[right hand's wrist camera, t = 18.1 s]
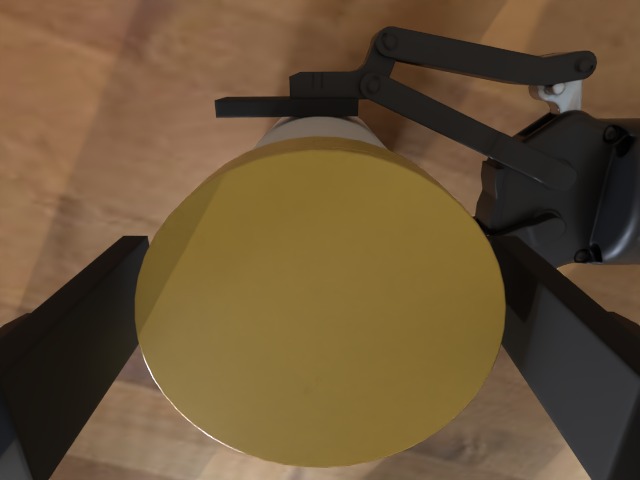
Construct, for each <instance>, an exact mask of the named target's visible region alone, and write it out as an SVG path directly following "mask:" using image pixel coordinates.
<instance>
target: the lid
mask: <svg viewBox="0 0 640 480" xmlns="http://www.w3.org/2000/svg"><path fill="white" fill-rule="evenodd" d="M505 314H506V301H505V290H504V283H503V279H502V275H501V271H500V267H499V263H498V261H497V259H496V256H495V254H494V252H493V249H492V247H491V245H490V243H489V241H488V239H487V238H486V236H485V235H484V233H483V231H482V230H481V228H480V227H479V225H478V223H477V222H476V221H475V220H474V219H473V218H472V216H471V215H470V214H469V213H468V212H467V211H466V209H465V208H464V207H463V206H462V205H461V204H460V203H459V202H458V201H457V200H456V199H455V198H454V197H453V196H452V195H451V194H450V193H449V192H448V191H446V190H445V189H444V188H443V187H442V186H441V185H440V184H439V183H438V182H437V181H436V180H434V179H433V178H432V177H431V176H430V175H429V174H427V173H426V172H425V171H424V170H423V169H421V168H420V167H418V166H417V165H415V164H414V163H412V162H411V161H409V160H407V159H406V158H404V157H402V156H400V155H398V154H396V153H394V152H391V151H389V150H387V149H385V148H383V147H380V146H376V145H373V144H370V143H366V142H363V141H359V140H353V139H347V138H341V137H322V136H311V137H301V138H292V139H286V140H282V141H278V142H274V143H270V144H266V145H264V146H261V147H259V148H256V149H254V150H251V151H249V152H246V153H244V154H242V155H240V156H239V157H237V158H235V159H233V160H232V161H230V162H228V163H226V164H225V165H223V166H222V167H221V168H219V169H218V170H217V171H216V172H214V173H213V174H212V175H210V176H209V177H208V178H207V179H206V180H205V181H203V182H202V183H201V184H200V185H199V186H198V187H197V188H196V189H195V190H194V191H193V192H192V193H191V194H190V195H189V196H188V197H187V198H186V199H185V200H184V201H183V202H182V203H181V204H180V205H179V206H178V207H177V208H176V209H175V210H174V211H173V212H172V213H171V214H170V215H169V216H168V218H167V219H166V221H165V222H164V223H163V225H162V226H161V228H160V229H159V230H158V232H157V233H156V235H155V236H154V238H153V240H152V242H151V244H150V246H149V248H148V250H147V252H146V254H145V257H144V260H143V263H142V266H141V269H140V272H139V275H138V280H137V287H136V294H135V324H136V330H137V336H138V341H139V345H140V348H141V351H142V354H143V357H144V360H145V362H146V364H147V366H148V368H149V371H150V373H151V375H152V377H153V379H154V380H155V382H156V383H157V385H158V386H159V388H160V389H161V391H162V392H163V394H164V395H165V396H166V398H167V399H168V400H169V401H170V402H171V403H172V405H173V406H174V407H175V408H176V409H177V410H178V411H179V412H180V413H181V414H182V415H183V416H184V417H185V418H186V419H188V420H189V421H190V422H191V423H192V424H193V425H195V426H196V427H197V428H199V429H200V430H201V431H203V432H204V433H206V434H207V435H208V436H210V437H212V438H214V439H215V440H217V441H219V442H221V443H222V444H224V445H226V446H228V447H230V448H233V449H235V450H237V451H239V452H242V453H244V454H247V455H250V456H253V457H256V458H259V459H262V460H266V461H270V462H275V463H280V464H284V465H292V466H301V467H339V466H349V465H355V464H361V463H366V462H370V461H374V460H378V459H381V458H385V457H388V456H391V455H393V454H396V453H398V452H401V451H404V450H406V449H408V448H410V447H412V446H414V445H416V444H418V443H420V442H422V441H424V440H425V439H427V438H428V437H430V436H432V435H433V434H435V433H436V432H438V431H439V430H441V429H442V428H443V427H444V426H446V425H447V424H448V423H449V422H450V421H452V420H453V419H454V418H455V417H457V416H458V415H459V413H460V412H461V411H462V410H463V409H464V408H465V407H466V406H467V405H468V404H469V403H470V402H471V401H472V399H473V398H474V397H475V395H476V394H477V393H478V391H479V390H480V389H481V387H482V386H483V384H484V382H485V381H486V379H487V377H488V375H489V373H490V372H491V370H492V368H493V366H494V363H495V360H496V358H497V355H498V352H499V350H500V346H501V342H502V337H503V333H504V329H505Z"/></svg>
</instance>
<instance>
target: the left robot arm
mask: <svg viewBox="0 0 640 480" xmlns="http://www.w3.org/2000/svg"><path fill="white" fill-rule="evenodd" d="M395 61H396V62H401V63H406V64H411V65H416V66H421V67H426V68H431V69H436V70H441V71H446V72H451V73H456V74H461V75H466V76H471V77H476V78H481V79H486V80H491V81H496V82H501V83H508V84H519V85H529V87H528V88H529V93H530V96H531V97H532V98H534V99H536V100H542V101H545V102H547V103H548V104H549V107H550V112H549V113H547V114H546V115H544V116H543V117H541V118H540V119H538V120H537V121H535V122H534V123H532V124H531V125H529V126H528V127H526V128H525V129H523V130H522V131H520V132H519V133H517V134H516V135H514V136H513V137H510V136H508V135H506V134H504V133H501V132H499V131H497V130H495V129H493V128H491V127H489V126H487V125H485V124H482V123H480V122H478V121H476V120H474V119H472V118H470V117H468V116H466V115H464V114H462V113H460V112H458V111H456V110H454V109H452V108H450V107H448V106H446V105H444V104H442V103H440V102H438V101H436V100H434V99H432V98H430V97H428V96H425V95H423V94H421V93H419V92H417V91H415V90H413V89H411V88H409V87H407V86H405V85H403V84H401V83H399V82H397V81H395V80H393V79H391V78H389V76H390V74H391V71H392V69H393V66H394V63H395ZM596 65H597V60H596V56H595V55H594V53H592V52H590V51H574V52H561V53H552V54H547V55H541V56H534V55H529V54H524V53H519V52H514V51H510V50H505V49H500V48H495V47H490V46H485V45H480V44H476V43H471V42H466V41H461V40H456V39H451V38H446V37H441V36H437V35H432V34H427V33H422V32H417V31H412V30H407V29H403V28H398V27H386V28H384V29H382V30H381V31H379V32H378V33H376V34H375V35H374V36H373V37H372V40H371V42H370V47H369V50H368V53H367V55H366V58H365V61H364V63H363V64H362V65H361V67H360V68H358V69H357V70H354V71H350V72H299V73H297V74H295V75H293V76H290V77H289V80H290V96H281V97H225V98H221V99H218V100H215V109H216V118H221V117H345V116H358V99H369V100H371V101H373V102H375V103H377V104H379V105H381V106H384V107H386V108H388V109H390V110H392V111H394V112H396V113H398V114H400V115H402V116H404V117H407V118H409V119H411V120H413V121H415V122H417V123H419V124H421V125H423V126H425V127H427V128H430V129H432V130H434V131H436V132H438V133H440V134H442V135H444V136H446V137H448V138H450V139H453V140H455V141H457V142H459V143H461V144H463V145H465V146H467V147H469V148H471V149H473V150H476V151H478V152H480V153H482V154H484V155H486V156H488V159H487V161H483V163H482V170H481V180H482V187H483V189H482V192H481V195H480V197H479V199H478V202H477V207H476V214H475V216H474V217H472V218H473V219H474V220H475V221H476V222H477V223H478V225H479V227H480V228H481V230H482V231H483V233H484V235H485V236H486V238H487V239H488V241H489V243H490V245H491V241H492V236H517V237H519V238H520V239H521V240H522V241H523V242H525V243H526V244H527V245H528V246H529V247H531V248H532V249H533V250H534V251H535V252H537V253H538V254H539V255H540V256H541V257H543V258H544V259H545V260H546V261H547V262H548V263H550V264H551V265H552V266H553V267H554V268H558V267H560V266H563V265H566V264H569V263H585V264H596V265H631V264H640V118H631V119H596V118H594V117H592V116H590V115H589V114H588V113H586V112H584V111H581V99H582V82H583V79H585V78H588V77H589V76H590V75H591V74H592V73H593V72H594V70H595V69H596ZM487 235H489V236H487Z"/></svg>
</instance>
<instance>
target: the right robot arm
mask: <svg viewBox="0 0 640 480" xmlns="http://www.w3.org/2000/svg"><path fill="white" fill-rule="evenodd" d="M491 247H492V249H493V252H494V254H495V256H496V259H497V261H498V263H499V267H500V271H501V275H502V279H503V283H504V290H505V301H506V314H505V329H504V333H503V337H502V342H501V344H502V346H503V347H504V349H505V350H506V352H507V353H508V355H509V356H510V358H511V359H512V361H513V362H514V364H515V365H516V367H517V368H518V370H519V371H520V373H521V374H522V376H523V377H524V379H525V380H526V382H527V383H528V385H529V386H530V388H531V389H532V391H533V392H534V394H535V395H536V397H537V398H538V400H539V401H540V403H541V404H542V406H543V407H544V409H545V410H546V412H547V413H548V415H549V416H550V418H551V419H552V421H553V422H554V424H555V425H556V427H557V428H558V430H559V431H560V433H561V434H562V436H563V437H564V439H565V440H566V442H567V443H568V445H569V446H570V448H571V449H572V451H573V452H574V454H575V455H576V457H577V458H578V460H579V461H580V463H581V464H582V466H583V467H584V469H585V470H586V472H587V473H588V475H589V477H590V478H591V480H640V326H639V325H638V324H636V323H635V322H633V321H631V320H629V319H627V318H625V317H623V316H621V315H619V314H617V313H615V312H607V311H606V310H605V309H603V308H602V307H601V306H600V305H599V304H597V303H596V302H595V301H594V300H593V299H591V298H590V297H589V296H588V295H587V294H585V293H584V292H583V291H582V290H581V289H580V288H578V287H577V286H576V285H575V284H574V283H572V282H571V281H570V280H569V279H568V278H566V277H565V276H564V275H563V274H562V273H560V272H559V271H558V270H557V269H556V268H554V267H553V266H552V265H551V264H550V263H548V262H547V261H546V260H545V259H544V258H543V257H541V256H540V255H539V254H538V253H537V252H535V251H534V250H533V249H532V248H531V247H529V246H528V245H527V244H526V243H525V242H523V241H522V240H521V239H520V238H519V237H517V236H492V241H491ZM148 248H149V241H148V236H123V237H121V238H120V239H119V240H118V241H117V242H115V243H114V244H113V245H112V246H111V247H109V248H108V249H107V250H106V251H105V252H103V253H102V254H101V255H100V256H99V257H97V258H96V259H95V260H94V261H93V262H92V263H90V264H89V265H88V266H87V267H86V268H84V269H83V270H82V271H81V272H80V273H78V274H77V275H76V276H75V277H74V278H72V279H71V280H70V281H69V282H68V283H66V284H65V285H64V286H63V287H62V288H60V289H59V290H58V291H57V292H56V293H55V294H53V295H52V296H51V297H50V298H49V299H47V300H46V301H45V302H44V303H43V304H41V305H40V306H39V307H38V308H37V309H35V310H34V311H33V312H32V313H26V314H25V315H23V316H21V317H19V318H17V319H15V320H13V321H11V322H9V323H7V324H5V325H3V326H2V327H1V328H0V480H49V478H50V477H51V475H52V473H53V472H54V470H55V469H56V467H57V466H58V464H59V463H60V461H61V460H62V458H63V457H64V455H65V454H66V452H67V451H68V449H69V448H70V446H71V445H72V443H73V442H74V440H75V439H76V437H77V436H78V434H79V433H80V431H81V430H82V428H83V427H84V425H85V424H86V422H87V421H88V419H89V418H90V416H91V415H92V413H93V412H94V410H95V409H96V407H97V406H98V404H99V403H100V401H101V400H102V398H103V397H104V395H105V394H106V392H107V391H108V389H109V388H110V386H111V385H112V383H113V382H114V380H115V379H116V377H117V376H118V374H119V373H120V371H121V370H122V368H123V367H124V365H125V364H126V362H127V361H128V359H129V358H130V356H131V355H132V353H133V352H134V350H135V349H136V347H137V346H138V344H139V341H138V336H137V330H136V324H135V294H136V287H137V280H138V275H139V272H140V269H141V266H142V263H143V260H144V257H145V254H146V252H147V250H148Z"/></svg>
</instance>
